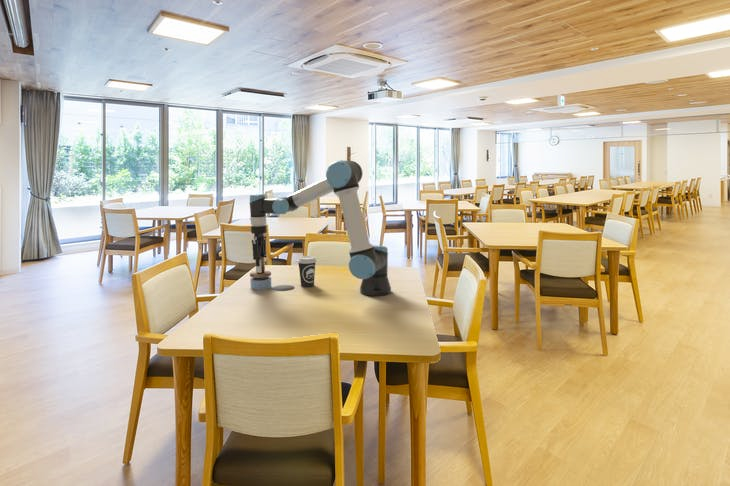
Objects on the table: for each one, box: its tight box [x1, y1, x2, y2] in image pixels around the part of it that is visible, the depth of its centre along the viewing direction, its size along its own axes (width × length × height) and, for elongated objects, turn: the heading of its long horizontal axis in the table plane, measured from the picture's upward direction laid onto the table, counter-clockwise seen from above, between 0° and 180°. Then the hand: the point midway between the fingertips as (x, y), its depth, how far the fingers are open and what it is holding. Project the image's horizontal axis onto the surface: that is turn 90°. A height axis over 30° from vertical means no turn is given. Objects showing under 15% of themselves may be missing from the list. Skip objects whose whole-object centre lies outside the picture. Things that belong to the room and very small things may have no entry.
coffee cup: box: [297, 255, 317, 288], centre depth 240 cm, size 10×10×15 cm
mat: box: [271, 284, 295, 292], centre depth 236 cm, size 11×11×1 cm
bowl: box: [249, 276, 272, 291], centre depth 237 cm, size 10×10×5 cm
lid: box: [249, 257, 272, 278], centre depth 236 cm, size 10×10×9 cm
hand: (260, 271), depth 236 cm, fingers closed on lid, 4 cm apart
